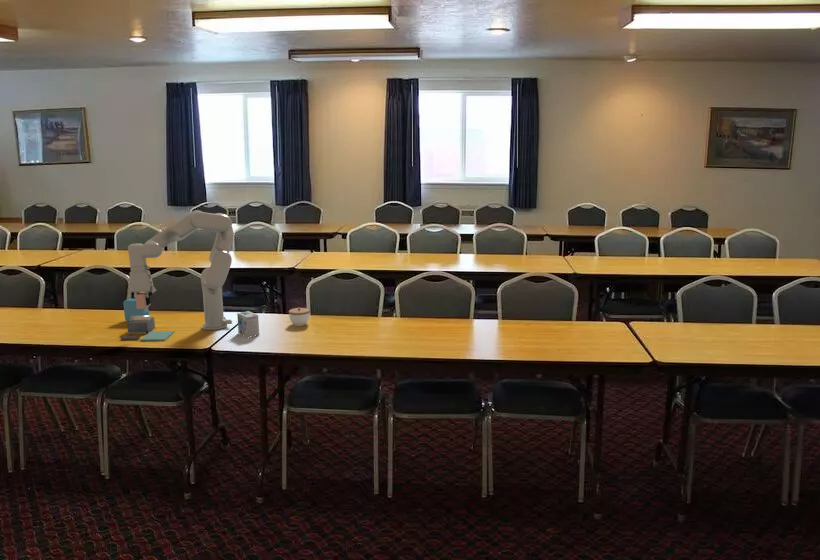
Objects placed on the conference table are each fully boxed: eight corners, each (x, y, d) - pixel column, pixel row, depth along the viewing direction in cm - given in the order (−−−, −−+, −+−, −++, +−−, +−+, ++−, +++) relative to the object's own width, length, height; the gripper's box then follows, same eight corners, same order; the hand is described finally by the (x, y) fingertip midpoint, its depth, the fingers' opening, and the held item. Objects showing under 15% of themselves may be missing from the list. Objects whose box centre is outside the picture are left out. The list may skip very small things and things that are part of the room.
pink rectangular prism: (150, 304, 330) (148, 291, 328) (145, 308, 323) (143, 294, 321) (142, 305, 330) (140, 291, 328) (136, 308, 323) (134, 295, 321)
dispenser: (155, 328, 344) (153, 313, 343) (140, 339, 325) (138, 323, 323) (136, 328, 344) (134, 313, 342) (119, 340, 325) (118, 324, 323)
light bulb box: (238, 333, 334) (236, 312, 331) (250, 331, 338) (248, 310, 336) (247, 338, 326) (246, 317, 323) (260, 335, 330) (258, 314, 328)
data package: (149, 320, 360) (147, 299, 357) (145, 322, 355) (142, 301, 353) (130, 319, 362) (127, 298, 359) (125, 321, 357) (122, 300, 355)
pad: (174, 332, 336) (174, 331, 336) (165, 340, 323) (164, 339, 322) (151, 332, 336) (151, 331, 336) (140, 341, 322) (140, 339, 322)
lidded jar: (285, 326, 345) (285, 309, 343) (295, 321, 355) (294, 304, 353) (304, 328, 342) (303, 310, 340) (313, 322, 352) (312, 305, 350)
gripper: (158, 266, 326) (163, 302, 330) (125, 267, 326) (130, 303, 330) (153, 269, 318) (157, 306, 322) (118, 271, 318) (123, 307, 323)
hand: (143, 304), depth 326 cm, fingers closed on pink rectangular prism, 4 cm apart
